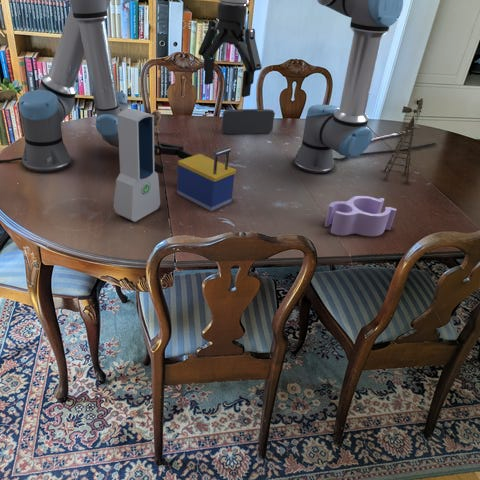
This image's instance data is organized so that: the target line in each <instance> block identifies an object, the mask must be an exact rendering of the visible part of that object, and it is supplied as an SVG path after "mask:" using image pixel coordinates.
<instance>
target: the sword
mask: <svg viewBox="0 0 480 480" xmlns="http://www.w3.org/2000/svg"><path fill="white" fill-rule="evenodd" d="M400 132H401V131H396V132H395V133H390V134H386V135H381V136H378V137H374V138H373V137H372V139H371V142H370V143H372V142H374V141H378V140H381V139H385V138H390V137H394V136H402V135H403V134H404V133H400ZM407 134H410V133H409V132H408V133H407Z"/></svg>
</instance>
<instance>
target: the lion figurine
mask: <svg viewBox="0 0 480 480" xmlns="http://www.w3.org/2000/svg"><path fill="white" fill-rule="evenodd" d="M150 114H151V115H154V127H157V126H158V125H159V124H160V122H161V120H162V114H161V112H160V111H158V110H153V111H152V113H150Z"/></svg>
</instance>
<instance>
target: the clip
mask: <svg viewBox="0 0 480 480" xmlns="http://www.w3.org/2000/svg"><path fill="white" fill-rule="evenodd" d="M384 201H385V198H383V197H379V198H376V197H373V196H368V195H357V196H352V197H350V198H349V200H347V201H339V200H338V201H337V200H335V201H332V202H330V203H329V205H328V208H327V214H326V218H325V222H324V227H326V228H329V227H330V226H331V227H330V233H331V234H333V235H336V236H348V235H353V234H356V235H360V236H364V237H365V236H366V237H378V236H381V235H382V234H384V232H385V230H387V231H391V229H392V226H393V222H394V219H395V216H396V213H397V210H398V209H397V208H395V207H391V206H385V207H384V211H383V212H382V209H383V206H384Z"/></svg>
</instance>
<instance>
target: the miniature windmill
mask: <svg viewBox="0 0 480 480" xmlns="http://www.w3.org/2000/svg"><path fill="white" fill-rule="evenodd" d="M423 102H424V98H423V97H422V98H420V99H419V101H418V103H417V107H416V109H412V108H411V107H408V106H405V105H403V108H402V111H401V113H402V114H411V113H413V116H412V117H411V119H410V120H409V123H408V122H404V127H405V129H404V130H403V132H404V134H401V137H400V139H399V140H398V141H397V144H396V146H395V151H394V152H392V155H391V156H390V158H389V160H388V162H387V163H386V166H385V168H384V170H383V172H384V173H386V172H387V171H388V172H387V173H386V176H385V178H384V180H386V181H387V180H388V178H389V176H390V173H391V172H393V173H398V174H403V175H404V176H406V179H405V184H408V183H409V175H410V174H411V173H410V163H411V160H412V156H411V155H412V149H411V148H412V147H413V139H414V138H413V137H414V129H415V130H419V129H420V125H419V124H417V123H419V118H420V116H421V114H420V113H422V109H423V105H424V103H423ZM408 132H409V133H408ZM407 136H409V140H408V141H405V140H406V137H407ZM404 143H405V144H404ZM406 144H408V145H406ZM402 147H403V148H408V150H407V152H404V151H400V149H402ZM397 149H398V151H397ZM399 154H402V155H403V154H404V155H406V157H401V156H398V155H399ZM397 159H401V160H405V164H401V163H395V162H396V160H397ZM392 160H393V161H392ZM394 166H399V167H400V166H401V167H404V171H398V170H394V169H393V167H394ZM392 169H393V170H392Z"/></svg>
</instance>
